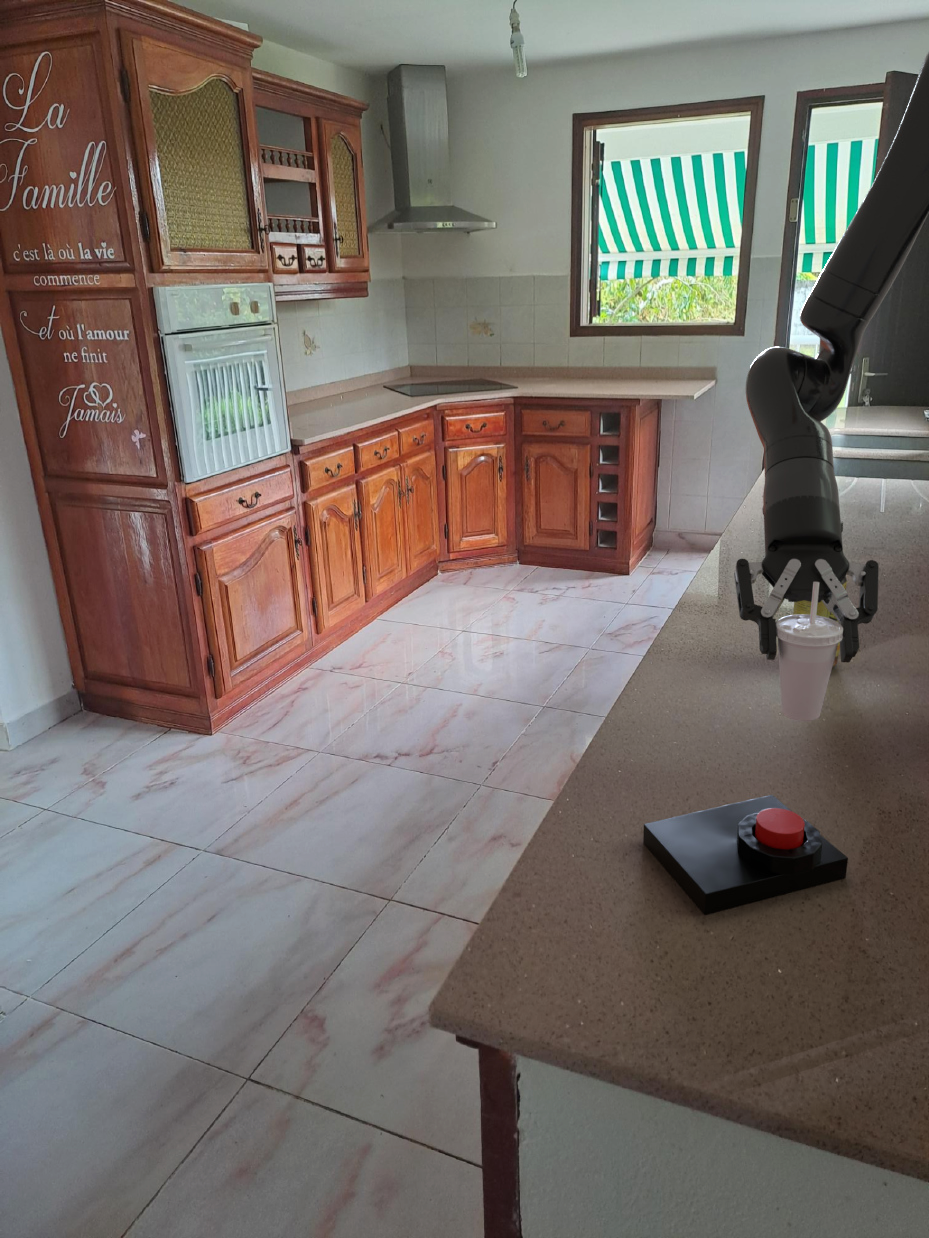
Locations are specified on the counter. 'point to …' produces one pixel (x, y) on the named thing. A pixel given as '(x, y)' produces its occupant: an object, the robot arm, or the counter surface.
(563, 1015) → the counter surface
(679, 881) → the push button box
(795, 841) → the timer button
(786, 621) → the smoothie
